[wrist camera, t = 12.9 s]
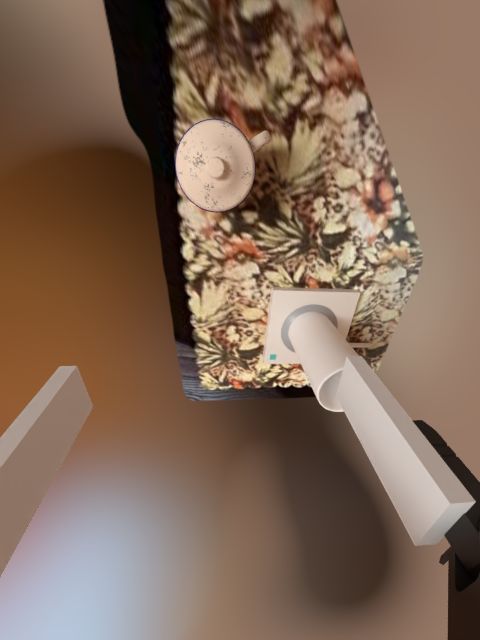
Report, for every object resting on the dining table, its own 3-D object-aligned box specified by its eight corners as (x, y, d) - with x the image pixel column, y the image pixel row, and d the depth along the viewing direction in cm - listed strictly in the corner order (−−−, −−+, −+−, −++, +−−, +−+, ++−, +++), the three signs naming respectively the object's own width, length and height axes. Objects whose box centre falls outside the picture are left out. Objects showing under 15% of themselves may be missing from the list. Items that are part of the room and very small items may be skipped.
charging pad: (271, 287, 45) (273, 290, 44) (389, 290, 48) (394, 294, 46) (262, 359, 53) (263, 364, 51) (364, 359, 55) (368, 363, 54)
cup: (337, 315, 47) (388, 372, 33) (320, 351, 51) (359, 415, 37) (297, 307, 46) (332, 362, 32) (282, 344, 50) (308, 408, 36)
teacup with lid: (206, 218, 39) (202, 231, 29) (170, 157, 35) (151, 146, 25) (276, 174, 37) (298, 171, 27) (246, 104, 33) (260, 69, 23)
